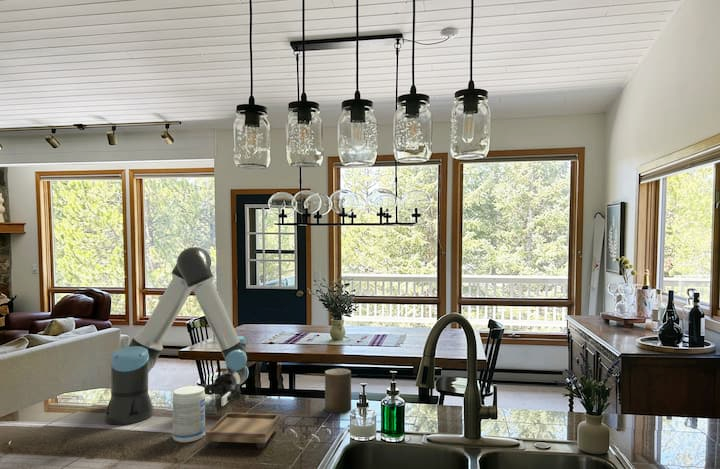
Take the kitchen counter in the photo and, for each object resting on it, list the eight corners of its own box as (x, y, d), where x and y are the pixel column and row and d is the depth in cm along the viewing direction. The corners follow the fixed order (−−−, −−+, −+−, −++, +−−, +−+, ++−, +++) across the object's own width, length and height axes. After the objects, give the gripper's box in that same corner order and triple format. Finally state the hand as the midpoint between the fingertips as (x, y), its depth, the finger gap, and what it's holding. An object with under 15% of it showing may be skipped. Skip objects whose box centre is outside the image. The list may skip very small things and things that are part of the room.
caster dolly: (205, 449, 133) (205, 432, 133) (226, 428, 149) (226, 412, 149) (265, 451, 131) (265, 434, 132) (280, 429, 147) (280, 414, 148)
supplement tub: (208, 439, 140) (208, 391, 141) (176, 446, 135) (176, 396, 136) (200, 428, 149) (200, 383, 149) (169, 435, 143) (170, 388, 144)
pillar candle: (350, 413, 162) (350, 371, 163) (323, 413, 162) (323, 371, 163) (351, 404, 172) (351, 364, 172) (325, 404, 172) (326, 364, 172)
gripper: (258, 393, 171) (238, 413, 150) (195, 392, 174) (166, 411, 153) (258, 373, 172) (239, 390, 151) (195, 372, 174) (167, 389, 153)
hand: (202, 401), depth 151 cm, fingers open, 13 cm apart
